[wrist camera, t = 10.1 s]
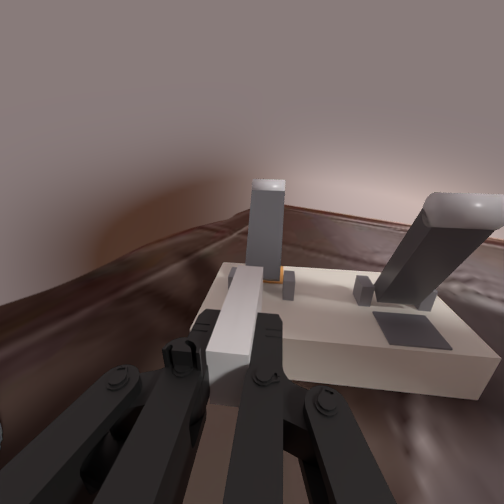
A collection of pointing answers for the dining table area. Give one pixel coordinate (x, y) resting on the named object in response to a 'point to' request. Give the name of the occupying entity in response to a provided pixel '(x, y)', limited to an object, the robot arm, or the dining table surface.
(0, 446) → the drinking glass
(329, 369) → the console
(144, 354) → the dining table surface
